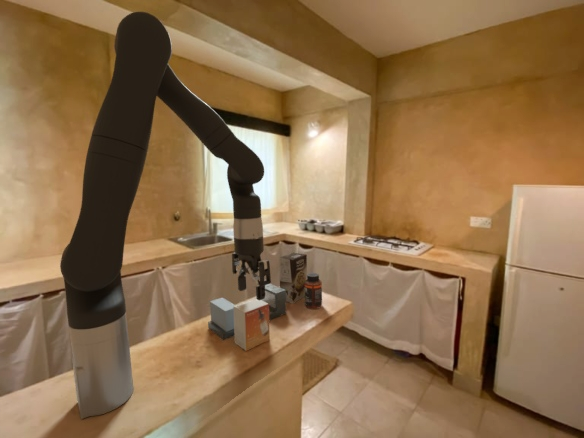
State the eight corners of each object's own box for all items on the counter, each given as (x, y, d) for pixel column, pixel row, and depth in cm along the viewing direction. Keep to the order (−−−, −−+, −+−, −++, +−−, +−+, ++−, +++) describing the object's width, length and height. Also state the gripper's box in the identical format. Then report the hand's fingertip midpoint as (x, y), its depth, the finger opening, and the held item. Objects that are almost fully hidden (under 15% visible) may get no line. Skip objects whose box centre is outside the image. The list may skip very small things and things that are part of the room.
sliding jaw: (226, 331, 77) (225, 311, 77) (211, 320, 84) (210, 301, 83) (238, 326, 80) (237, 306, 79) (223, 316, 87) (222, 297, 86)
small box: (245, 352, 72) (244, 313, 70) (234, 343, 76) (232, 306, 74) (270, 339, 77) (269, 303, 76) (258, 332, 81) (257, 297, 80)
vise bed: (223, 340, 77) (222, 312, 76) (208, 328, 84) (206, 302, 83) (286, 313, 92) (285, 289, 91) (269, 304, 99) (268, 283, 98)
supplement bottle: (324, 304, 99) (324, 273, 97) (317, 311, 94) (317, 278, 92) (309, 300, 102) (309, 270, 100) (301, 307, 97) (301, 275, 95)
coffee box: (293, 304, 99) (292, 259, 97) (279, 299, 103) (278, 257, 101) (307, 295, 107) (307, 254, 105) (294, 291, 111) (293, 251, 108)
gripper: (221, 233, 75) (225, 291, 77) (252, 241, 65) (255, 307, 67) (245, 229, 80) (248, 284, 82) (277, 236, 70) (279, 298, 72)
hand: (251, 294), depth 75 cm, fingers open, 8 cm apart
